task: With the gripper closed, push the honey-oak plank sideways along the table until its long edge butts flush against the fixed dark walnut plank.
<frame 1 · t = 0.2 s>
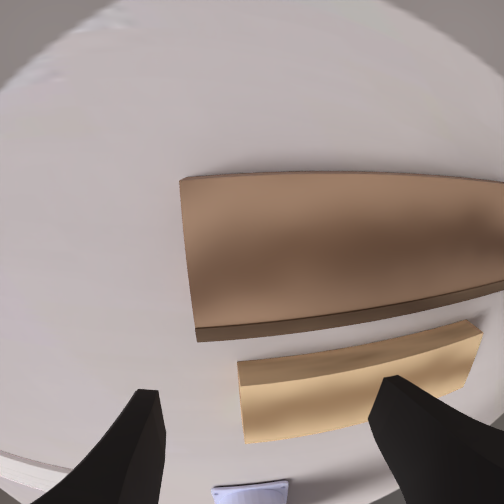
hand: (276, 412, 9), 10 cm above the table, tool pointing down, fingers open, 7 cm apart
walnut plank: (387, 235, 18), on the table
oak plank: (365, 370, 22), on the table
baseboard: (28, 471, 23), on the table
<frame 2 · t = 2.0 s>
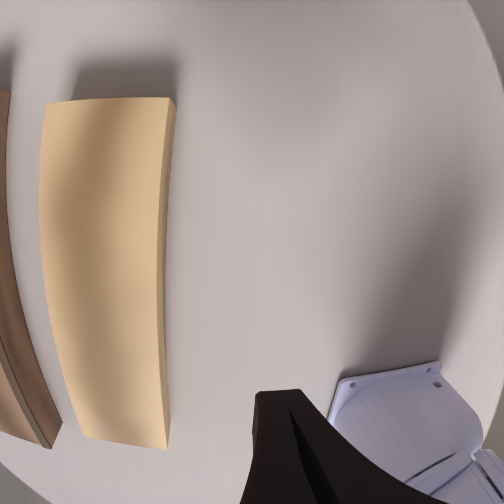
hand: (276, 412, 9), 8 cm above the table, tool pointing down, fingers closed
oak plank: (115, 292, 16), on the table
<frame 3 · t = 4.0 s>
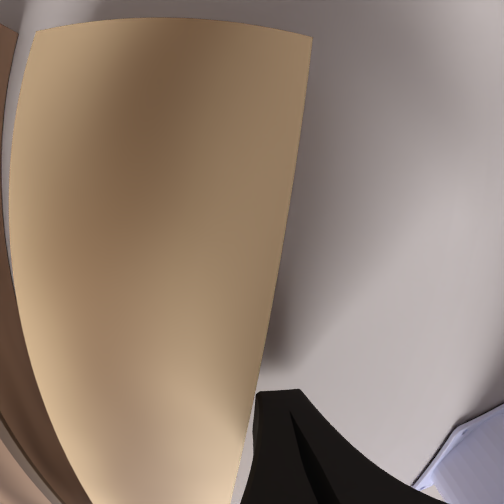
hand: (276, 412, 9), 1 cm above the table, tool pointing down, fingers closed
oak plank: (152, 370, 10), on the table
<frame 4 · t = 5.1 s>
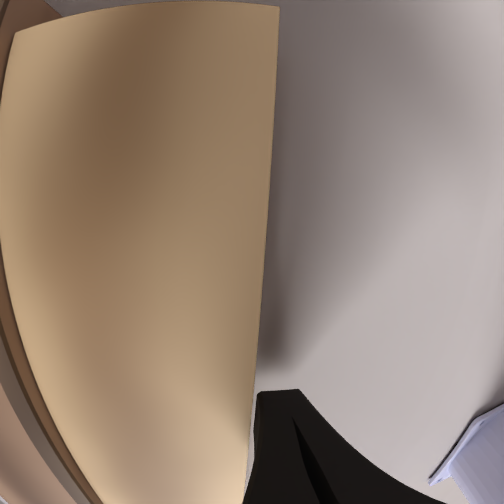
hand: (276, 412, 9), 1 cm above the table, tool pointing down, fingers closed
oak plank: (154, 362, 10), on the table, touching gripper
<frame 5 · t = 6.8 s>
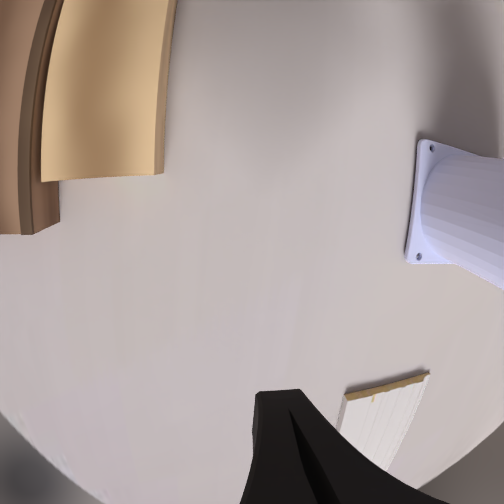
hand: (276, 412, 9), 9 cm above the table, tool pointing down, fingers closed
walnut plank: (24, 40, 11), on the table
oak plank: (127, 13, 12), on the table
baseboard: (358, 469, 27), on the table
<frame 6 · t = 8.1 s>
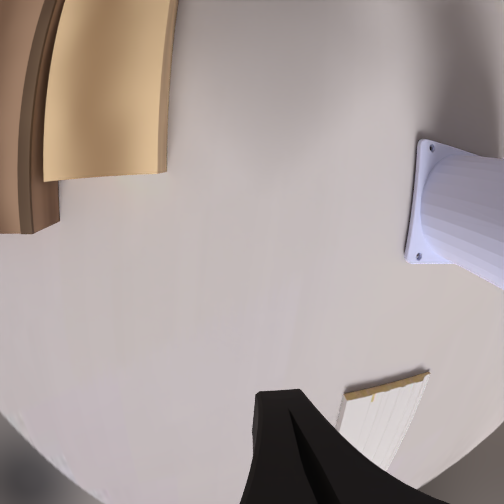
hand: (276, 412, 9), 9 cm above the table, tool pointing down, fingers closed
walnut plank: (24, 40, 11), on the table
oak plank: (128, 13, 12), on the table
baseboard: (358, 469, 27), on the table
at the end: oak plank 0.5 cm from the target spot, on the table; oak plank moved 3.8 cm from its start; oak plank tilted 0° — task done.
